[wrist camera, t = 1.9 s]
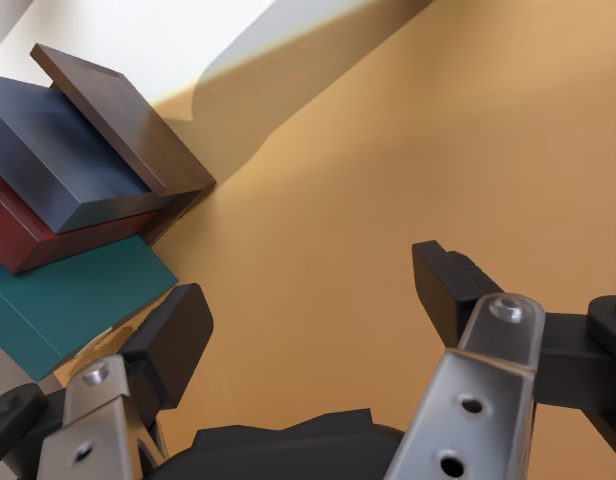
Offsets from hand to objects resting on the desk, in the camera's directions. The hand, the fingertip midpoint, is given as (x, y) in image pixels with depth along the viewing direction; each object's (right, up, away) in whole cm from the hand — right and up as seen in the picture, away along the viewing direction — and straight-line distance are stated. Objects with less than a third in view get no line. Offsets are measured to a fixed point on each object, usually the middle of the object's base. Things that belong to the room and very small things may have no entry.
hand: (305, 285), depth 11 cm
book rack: (-21, +9, +25) cm, 34 cm away
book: (-21, 0, +25) cm, 33 cm away
